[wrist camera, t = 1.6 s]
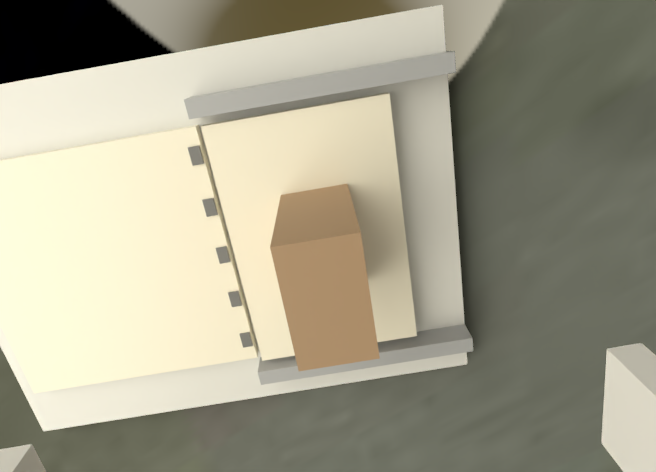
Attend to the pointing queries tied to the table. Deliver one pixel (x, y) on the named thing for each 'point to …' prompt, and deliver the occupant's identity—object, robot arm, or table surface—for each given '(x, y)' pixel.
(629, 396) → the robot arm
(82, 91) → the ticket board
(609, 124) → the table surface
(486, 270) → the table surface
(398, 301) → the tabbed cream panel
